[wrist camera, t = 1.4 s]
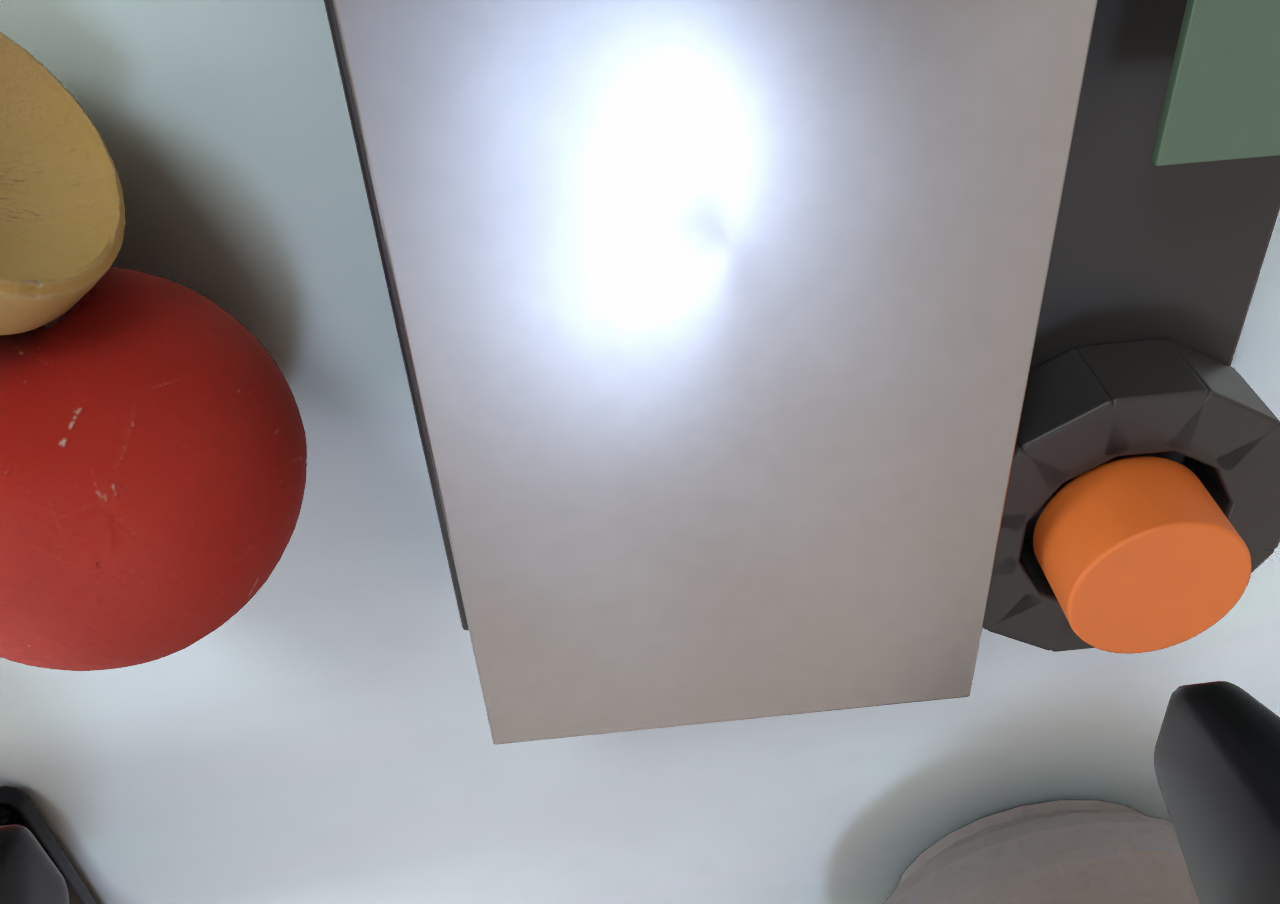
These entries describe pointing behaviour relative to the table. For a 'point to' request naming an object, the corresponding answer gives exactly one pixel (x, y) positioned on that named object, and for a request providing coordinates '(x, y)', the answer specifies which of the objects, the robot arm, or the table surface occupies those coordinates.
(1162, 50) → the scale
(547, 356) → the pan
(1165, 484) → the button
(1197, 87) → the scale display
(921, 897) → the coffee pot
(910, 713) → the table surface
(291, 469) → the kendama
